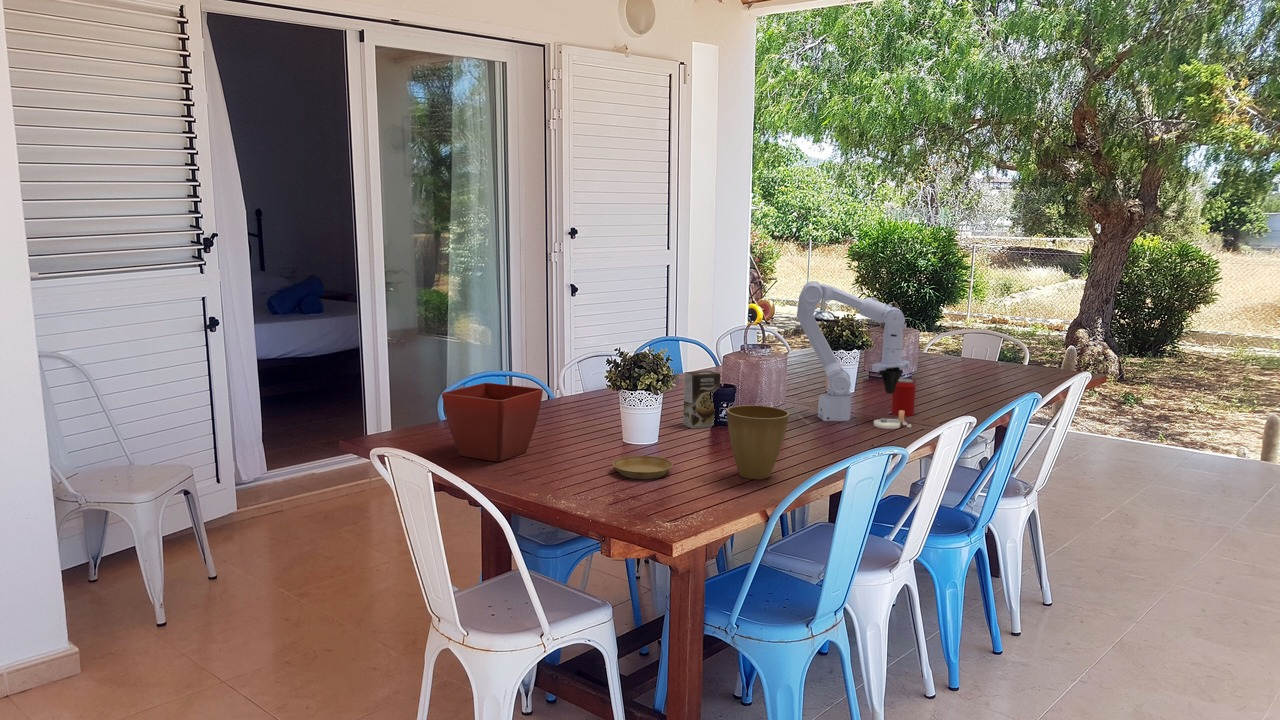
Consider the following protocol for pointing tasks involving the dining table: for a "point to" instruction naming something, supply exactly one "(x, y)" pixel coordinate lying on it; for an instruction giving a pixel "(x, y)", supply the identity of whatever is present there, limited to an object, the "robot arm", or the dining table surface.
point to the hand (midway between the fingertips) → (889, 393)
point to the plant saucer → (642, 466)
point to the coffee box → (700, 398)
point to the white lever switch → (890, 422)
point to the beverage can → (904, 397)
